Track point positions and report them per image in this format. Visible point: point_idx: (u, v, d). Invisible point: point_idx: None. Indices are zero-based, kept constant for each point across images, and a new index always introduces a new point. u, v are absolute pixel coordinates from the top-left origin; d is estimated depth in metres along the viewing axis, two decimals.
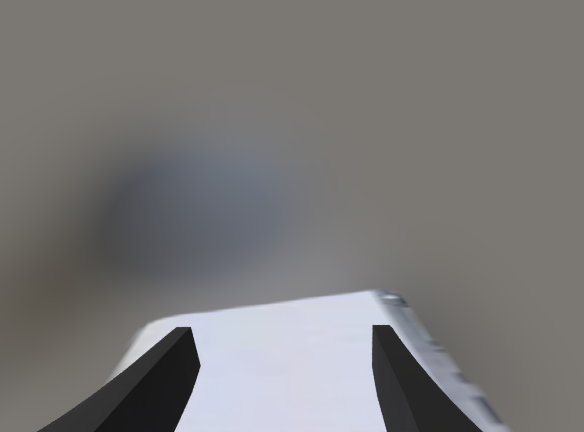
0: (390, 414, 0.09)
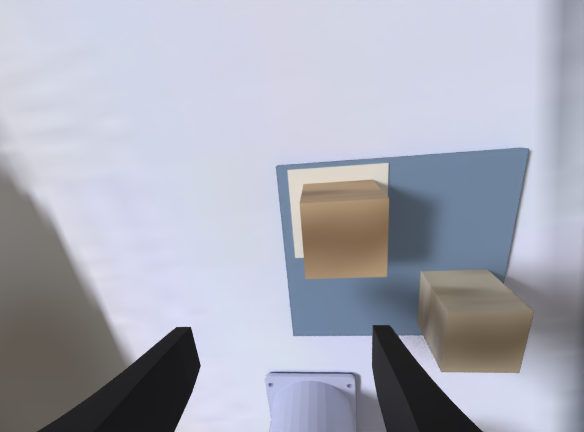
0: (390, 414, 0.09)
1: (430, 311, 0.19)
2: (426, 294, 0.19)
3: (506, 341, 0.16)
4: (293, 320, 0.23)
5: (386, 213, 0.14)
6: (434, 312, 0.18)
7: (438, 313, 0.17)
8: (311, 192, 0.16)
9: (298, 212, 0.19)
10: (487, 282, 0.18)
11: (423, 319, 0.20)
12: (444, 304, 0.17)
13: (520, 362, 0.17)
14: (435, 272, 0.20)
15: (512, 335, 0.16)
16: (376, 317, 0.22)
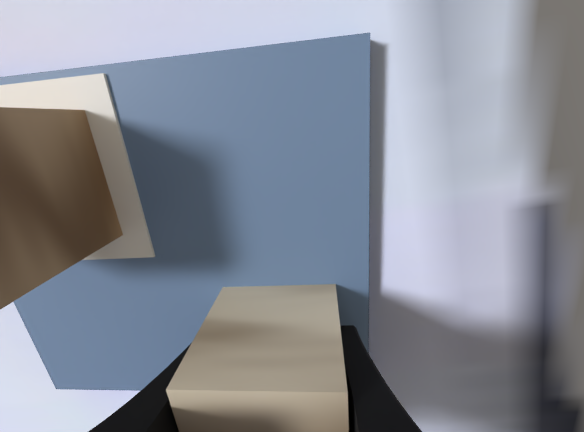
0: None
1: None
2: None
3: None
4: (47, 365, 0.14)
5: None
6: None
7: None
8: None
9: None
10: (312, 312, 0.09)
11: None
12: (182, 364, 0.08)
13: None
14: (244, 289, 0.11)
15: None
16: None
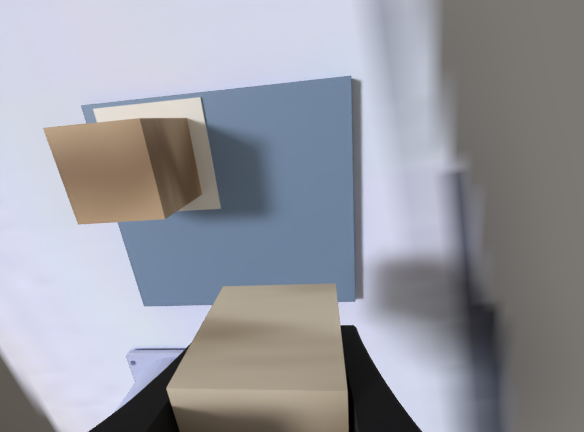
0: None
1: None
2: None
3: None
4: (140, 288, 0.20)
5: (142, 138, 0.12)
6: None
7: None
8: None
9: None
10: (312, 311, 0.09)
11: None
12: (183, 363, 0.08)
13: None
14: (244, 288, 0.11)
15: None
16: (227, 283, 0.19)
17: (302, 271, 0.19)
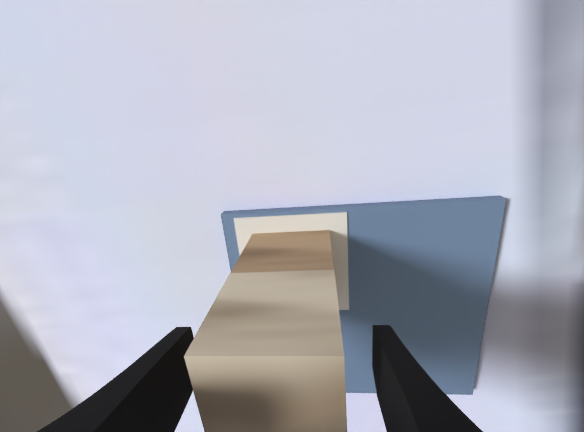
0: (390, 414, 0.09)
1: None
2: None
3: (308, 411, 0.08)
4: None
5: None
6: None
7: None
8: (253, 251, 0.14)
9: None
10: (313, 292, 0.10)
11: None
12: (197, 336, 0.09)
13: None
14: (249, 274, 0.12)
15: (316, 400, 0.08)
16: None
17: (422, 366, 0.19)
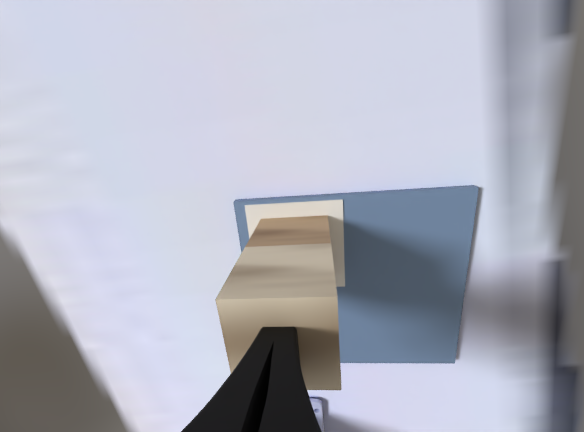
0: None
1: None
2: None
3: (310, 343, 0.11)
4: None
5: None
6: None
7: None
8: (262, 231, 0.17)
9: None
10: (314, 259, 0.13)
11: None
12: (224, 287, 0.11)
13: (338, 375, 0.11)
14: (261, 247, 0.14)
15: (316, 334, 0.11)
16: None
17: (410, 338, 0.21)
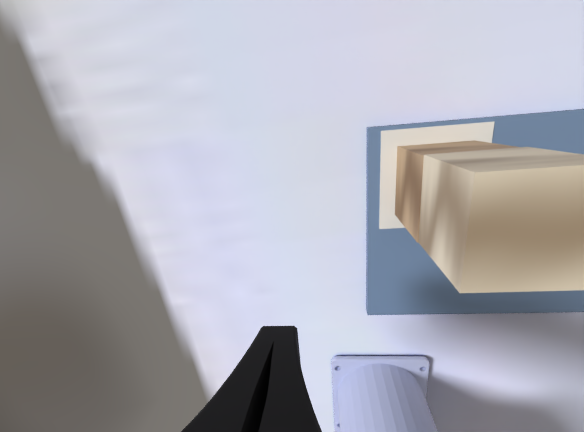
0: None
1: (439, 205, 0.12)
2: (433, 182, 0.12)
3: (577, 228, 0.09)
4: (369, 298, 0.21)
5: None
6: (447, 199, 0.11)
7: (454, 193, 0.10)
8: (420, 149, 0.15)
9: (388, 178, 0.18)
10: (533, 152, 0.11)
11: (428, 229, 0.13)
12: (466, 168, 0.10)
13: None
14: (446, 153, 0.13)
15: None
16: (461, 294, 0.20)
17: None
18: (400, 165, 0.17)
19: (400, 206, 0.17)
